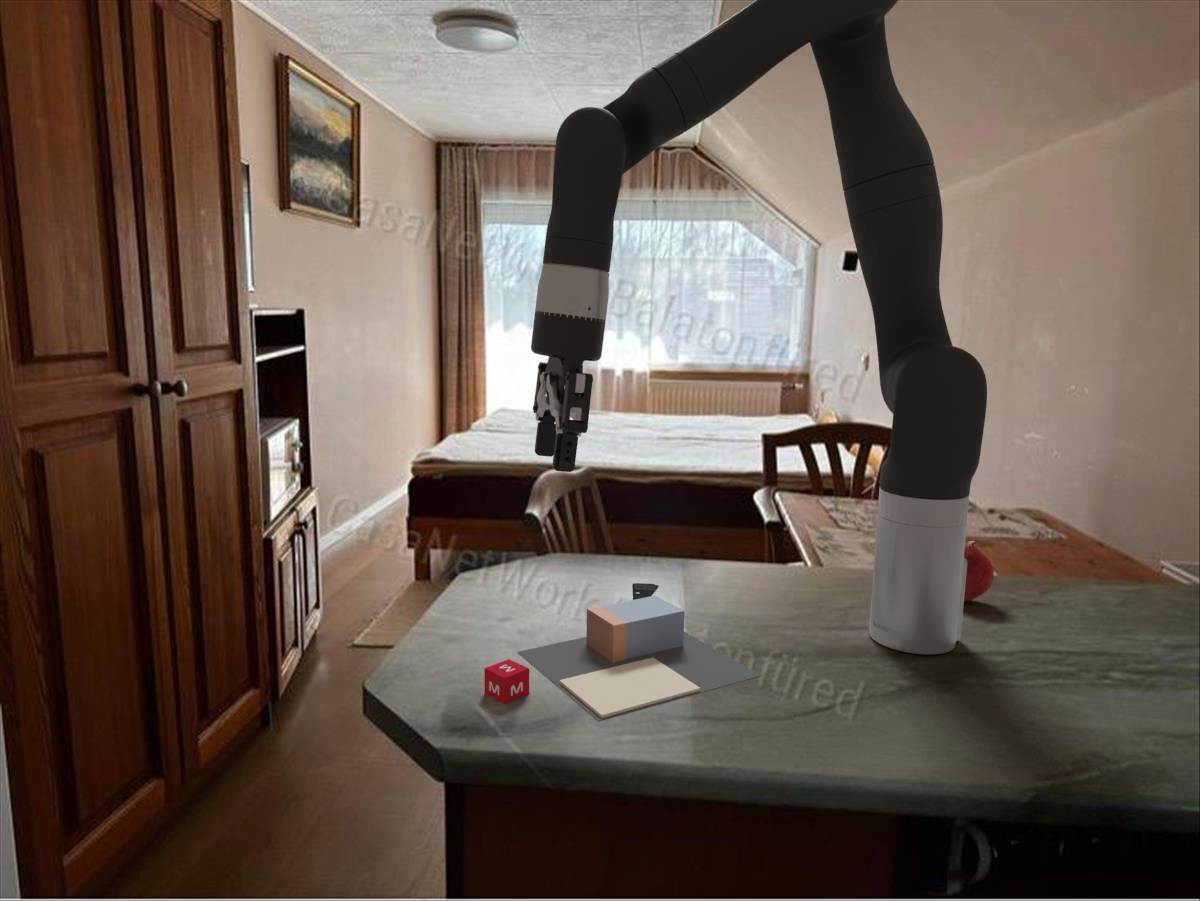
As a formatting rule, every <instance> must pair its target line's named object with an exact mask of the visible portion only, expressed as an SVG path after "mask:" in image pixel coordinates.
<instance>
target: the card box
mask: <svg viewBox="0 0 1200 901" xmlns="http://www.w3.org/2000/svg"><path fill="white" fill-rule="evenodd" d="M684 632H685V610H684V609H682V608H680V607H679V606H676V605H675V604H672V603H670V602H669V601H667V600H664V599H663V598H661V597H659V596H657V595H652V596H651V597H646V598H640V599H635V600H633V599H632V600H631V599H630V600H626V601H620V602H615V603H610V604H605V605H601V606H600V605H599V606H594V607H589V608H586V636H585V637H586V644H587V645H588V646H590V647H591V648H593V649H594V650H596V651H597V652H598V653H600V654H601V655H603V656H604V657H605V658H607V659H608V660H610V661H611V662H613V663H614V662H619V661H623V660H626V659H630V658H634V657H639V656H643V655H647V654H651V653H656V652H660V651H664V650H668V649H672V648H677V647H681V646H683V641H684Z"/></svg>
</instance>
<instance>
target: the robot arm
mask: <svg viewBox="0 0 1200 901" xmlns="http://www.w3.org/2000/svg"><path fill="white" fill-rule="evenodd" d="M898 1H899V0H754V1H752V2H750V4H748V5H747V6H745V7H743V8H742V9H740V10H739V11H738V12H736V13H734V14H733V15H731V16H730V17H729V18H727V19H726V20H724V21H722V22H721V23H720V24H718V25H716V26H715V27H714V28H712V29H710V30H708V31H707V32H706V33H704V34H702V35H701V36H698V37H697V38H696V39H694V40H692V41H691V42H690V43H688V44H686V45H685V46H683V47H682V48H680V49H679V50H677V51H675V52H674V53H672V54H671V55H669V56H667V57H666V58H665V59H663V60H661V61H660V62H659V63H656V64H655V65H654V66H652V67H651V68H648V70H646V71H645V72H643V73H642V74H640V75H639V76H638V77H636V78H635V79H634V81H633V82H632V83H631V84H630V85H629V87H628V88H627V89H626V90H625V91H624V93H622V95H621V94H620V96H619V97H617V98H615V99H614V100H613V101H611V102H609V103H608V104H606V105H605V106H603V107H599V106H596V105H595V106H594V105H593V106H592V105H590V106H584V107H580V108H578V109H576V110H574V111H572V112H571V113H570V114H569V115H567V117H565V119H564V120H563V121H562V123H561V125H560V126H559V128H558V132H557V135H556V138H555V149H554V150H555V151H554V165H553V178H552V179H553V180H552V196H551V211H550V214H549V217H548V223H547V228H546V232H545V233H546V235H545V240H544V248H543V249H544V250H543V258H542V267H541V273H540V276H539V279H538V284H537V290H536V300H535V301H536V302H535V309H534V315H533V316H534V318H533V326H532V336H531V343H530V344H531V345H530V350H531V352H532V353H533V354H536V355H540V356H545V357H548V359H547V361H539V363H538V365H537V377H536V385H535V392H534V402H533V406H532V411H533V414H535V420H536V422H537V426H536V427H537V428H536V433H535V434H536V436H535V442H534V443H535V444H534V454H536V456H538V457H539V456H540V457H549V458H551V457H552V464H551V465H552V468H553V469H554V471H556V472H563V473H565V472H566V473H567V472H568V473H572V472H573V471H574V470H575V469H576V468H575V467H576V460H577V453H578V452H577V451H578V450H577V449H578V443H579V442H578V441H579V437H581V436H582V434H587V433H588V432H587V431H588V429H589V417H590V408H591V401H592V400H591V398H592V391H593V390H592V387H593V382H594V378H593V377H594V376H593V374H592V373H588V372H587V373H586V372H583V371H584V366H583V365H584V362H586V361H587V362H597V361H600V360H601V358H602V354H603V345H604V338H605V336H604V335H605V331H606V329H605V327H606V322H607V313H608V305H609V297H610V296H609V295H610V293H609V292H610V284H609V283H610V268H611V261H612V253H613V246H614V230H615V229H614V226H615V225H614V224H615V213H616V209H617V205H618V201H619V200H618V199H619V196H620V190H621V183H622V180H623V179H622V178H623V175H624V174H625V173H627V172H628V171H630V170H631V169H632V168H633V167H635V166H637V165H638V164H639V163H640V162H641V161H642V160H644V159H645V158H647V157H648V156H649V155H650V154H651V153H653V152H654V151H656V150H657V149H658V148H659V147H660V146H661V147H662V146H663V145H664V144H666V143H668V142H670V141H672V140H673V139H676V138H678V137H679V136H680V135H682V134H684V133H686V132H687V131H689V130H691V129H692V128H693V127H695V126H697V125H699V124H700V123H702V122H703V121H705V120H706V119H708V118H709V117H711V116H712V115H714V114H715V113H717V112H718V111H719V110H721V109H722V108H724V107H725V106H727V105H728V104H729V103H731V102H732V101H733V100H735V99H736V98H737V97H739V96H740V95H741V94H743V92H745V91H746V90H747V89H749V88H750V87H751V86H752V85H753V84H755V83H756V82H757V81H759V80H760V79H761V78H762V77H764V76H765V75H766V74H767V73H768V72H770V71H771V70H773V68H774V67H776V66H777V65H779V64H780V63H781V62H783V61H784V60H785V59H787V58H788V57H790V56H791V55H792V54H793V53H795V52H798V51H799V50H800V49H801V48H803V47H804V46H806V45H808V44H810V46H811V50H812V54H813V56H814V60H815V63H816V66H817V69H818V72H819V75H820V79H821V82H822V85H823V89H824V92H825V93H824V94H825V97H826V100H827V101H826V102H827V106H828V107H827V108H828V110H829V111H828V112H829V118H830V125H831V130H832V135H833V141H834V147H835V151H836V156H837V157H836V158H837V161H838V166H839V173H840V178H841V185H842V191H843V196H844V200H845V206H846V210H847V215H848V220H849V225H850V228H851V233H852V237H853V240H854V244H855V248H856V249H855V250H856V253H857V257H858V261H859V266H860V269H861V273H862V276H863V280H864V283H865V287H866V289H867V290H866V291H867V293H868V298H869V300H870V305H871V310H872V314H873V315H872V316H873V322H874V328H875V331H874V333H875V338H876V350H877V361H878V373H879V376H878V377H879V386H880V393H881V395H882V399H883V401H884V403H885V406H887V408H888V410H889V411H890V412H891V414H892V425H891V434H890V443H889V444H890V445H889V450H888V454H887V457H886V459H885V460H884V461H883V463H882V465H881V467H880V475H879V491H878V492H879V493H878V501H877V502H878V504H877V519H876V532H875V543H874V544H875V545H874V546H875V548H874V561H873V574H872V585H871V586H872V587H871V601H870V613H869V614H870V616H869V623H868V624H869V627H868V628H869V629H868V635H869V636H870V637H871V639H872V640H874V641H875V642H876V643H878V644H880V645H882V646H884V647H887V648H889V649H892V650H896V651H899V652H904V653H909V654H917V655H940V654H945V653H949V652H951V651H953V650H954V649H955V648H956V644H957V641H961V634H962V627H963V626H962V624H963V615H964V603H965V601H964V594H965V584H966V573H967V560H966V559H965V558H964V550H965V546H966V540H967V539H966V536H967V527H968V526H967V525H968V513H969V503H970V491H971V484H972V480H973V477H974V476H975V475H976V472H977V470H978V467H979V464H980V458H981V451H982V445H983V439H984V438H983V437H984V432H985V431H984V430H985V428H984V427H985V421H986V414H987V405H988V404H987V403H988V386H987V385H988V383H987V377H986V373H985V370H984V369H983V367H982V365H981V363H980V362H979V360H978V359H977V358H976V357H975V356H974V355H973V354H971V353H970V352H969V351H966V350H965V349H963V348H960V347H957V346H954V345H953V343H952V340H951V337H950V333H949V330H948V325H947V322H946V317H945V314H944V309H943V306H942V305H943V304H942V300H941V291H940V290H941V289H940V276H941V273H940V272H941V260H942V252H943V251H942V249H943V230H944V229H943V228H944V225H943V224H944V222H943V220H944V218H943V207H942V198H941V192H940V186H939V182H938V181H939V180H938V175H937V172H936V165H935V161H934V157H933V152H932V150H931V146H930V144H929V141H928V138H927V137H926V135H925V133H924V131H923V129H922V127H921V125H920V123H919V122H918V120H917V118H916V117H915V116H914V114H913V112H912V111H911V109H910V108H909V106H908V105H907V103H906V102H905V100H904V97H902V94H901V93H900V91H899V90H900V89H898V86H897V85H896V84H897V83H896V81H895V78H894V76H893V75H894V74H893V71H892V66H891V63H890V55H889V49H888V43H887V34H886V23H885V22H886V21H885V16H886V15H888V13H889V12H890V11H891V10H892V9H893V8H894V6H895V5H897V3H898ZM570 418H572V419H570Z"/></svg>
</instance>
